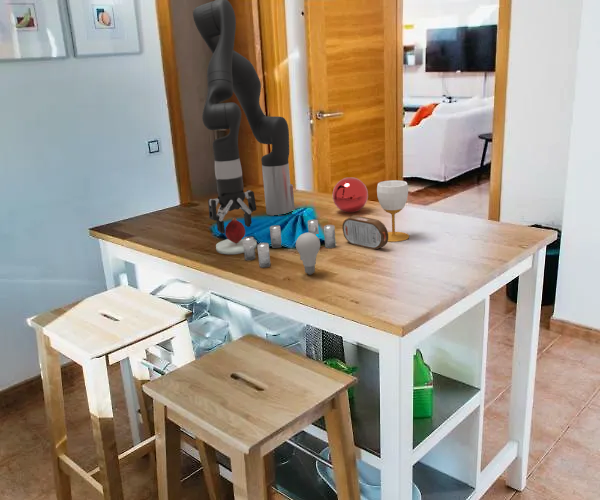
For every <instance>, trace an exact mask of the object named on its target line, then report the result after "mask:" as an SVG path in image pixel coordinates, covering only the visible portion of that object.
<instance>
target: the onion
mask: <svg viewBox="0 0 600 500" xmlns="http://www.w3.org/2000/svg"><path fill="white" fill-rule="evenodd" d="M224 234H225V237H226V239H229V240H230V241H232V242H234V243H239V241H241V240H242V238H243V237H245V235H246V227H245V225H244V224H243V223H242V222H241V221H239V220H237V217H235V216H234V217H232V218H231V221H230V222H228V224H227V225H226V226H225V233H224Z"/></svg>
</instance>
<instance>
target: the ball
mask: <svg viewBox="0 0 600 500" xmlns="http://www.w3.org/2000/svg"><path fill="white" fill-rule="evenodd" d="M332 190H333V191H332V200H333V203H334V205H335V206H336V208H337V209H339V211H341V212H344V213H348V214H349V213H351V214H352V213H357V212H358V211H360V210H362V209H363V208H364V207H365V206H366V204H367V202H368V198H369V193H368V192H369V191H368V188H367V186H366V184H364V182H363V181H362V180H360V179H359V178H357V177H343V178H342V179H340V180H339V181H338V182H337V183H336V184H335V185H334V187H333V189H332Z"/></svg>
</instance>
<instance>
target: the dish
mask: <svg viewBox="0 0 600 500" xmlns="http://www.w3.org/2000/svg"><path fill="white" fill-rule="evenodd" d="M253 239H254V248H255V249H256V248H257V244H258V243H257V240H256V239H255V238H253ZM215 247H216V248H215V249H216V250H215V251H216V253H219V254H222V255H241V254H244V247H243V239H242V240H241V241H239V243H234V242H232V241H230V240H229V239H228V238H226V239H224V240H221V241H219V242H218V243H216V245H215Z"/></svg>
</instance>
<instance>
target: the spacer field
mask: <svg viewBox="0 0 600 500" xmlns="http://www.w3.org/2000/svg"><path fill="white" fill-rule="evenodd" d="M307 229H308V230H307V231H308V232H307V233H313V234H315V235H316V234H319V233H320V230H319V220H318V219H309V220H307ZM335 230H336V227H335V225H334V224H326V225H324V226H323V234H324V236H323V237H324V247H325V248H328V249H333V248H336V246H337V245H336V231H335ZM269 231H270V232H269V233H270V234H269V235H270V242H271V248H272V249H280V248H282V247H283V245H282V246H281V243H282V231H281V226H280V225H275V224H274V225H271V226H269ZM319 235H320V234H319ZM254 239H255V238H254V236H244V238H243V247H244V253H243V255H244V260H245V261H254V260H256V248H257V254H258V255H257V257H258V266H259V268H270V267H271V258H270V246H269V243H268V242H260V243H257V247H256V248H254ZM299 255H300V254H299ZM299 258H300V261H303V260H302V257H301V255H300V257H299Z"/></svg>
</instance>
